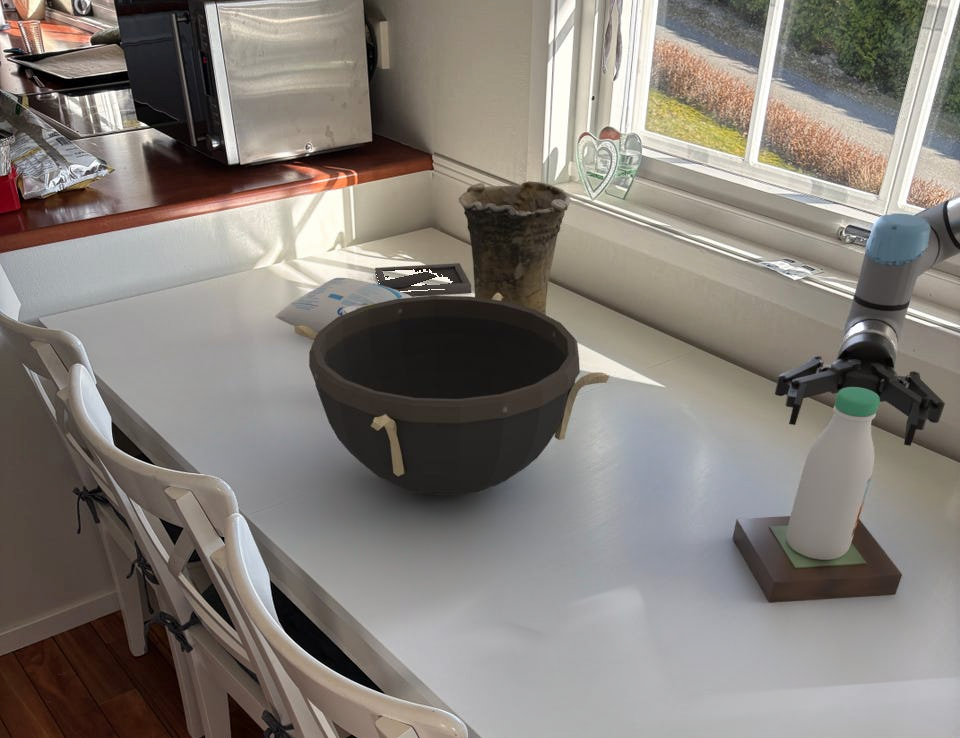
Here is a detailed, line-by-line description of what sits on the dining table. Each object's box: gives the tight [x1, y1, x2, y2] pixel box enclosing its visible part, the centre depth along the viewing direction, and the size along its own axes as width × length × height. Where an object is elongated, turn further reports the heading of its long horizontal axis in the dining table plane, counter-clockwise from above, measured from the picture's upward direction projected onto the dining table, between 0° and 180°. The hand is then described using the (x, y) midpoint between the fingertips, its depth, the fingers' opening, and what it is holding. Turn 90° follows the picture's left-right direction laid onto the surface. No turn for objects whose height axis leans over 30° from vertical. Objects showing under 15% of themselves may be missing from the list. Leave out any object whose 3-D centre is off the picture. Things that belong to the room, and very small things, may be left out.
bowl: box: [293, 293, 610, 496], centre depth 130 cm, size 35×35×20 cm
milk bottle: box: [786, 387, 881, 560], centre depth 112 cm, size 8×8×20 cm
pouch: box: [274, 277, 414, 334], centre depth 175 cm, size 8×19×20 cm
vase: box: [458, 180, 572, 315], centre depth 163 cm, size 18×18×27 cm
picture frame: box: [374, 262, 472, 297], centre depth 196 cm, size 13×2×18 cm
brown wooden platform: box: [732, 515, 903, 603], centre depth 120 cm, size 16×14×3 cm
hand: (851, 424), depth 116 cm, fingers open, 13 cm apart
